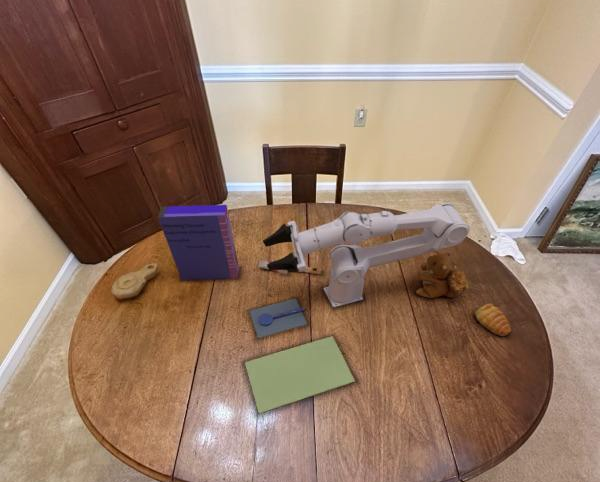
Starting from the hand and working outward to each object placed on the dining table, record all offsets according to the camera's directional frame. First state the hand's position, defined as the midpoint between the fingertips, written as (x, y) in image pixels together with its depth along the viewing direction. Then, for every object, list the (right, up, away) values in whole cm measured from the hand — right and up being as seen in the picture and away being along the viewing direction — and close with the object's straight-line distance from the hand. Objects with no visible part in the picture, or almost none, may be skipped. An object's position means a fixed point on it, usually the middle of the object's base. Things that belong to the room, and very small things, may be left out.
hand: (266, 255), depth 89 cm
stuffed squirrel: (+50, -9, +16) cm, 53 cm away
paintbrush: (+5, -3, +22) cm, 23 cm away
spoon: (+4, -16, +9) cm, 19 cm away
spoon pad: (+2, -17, +9) cm, 19 cm away
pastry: (+61, -18, +8) cm, 64 cm away
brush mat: (+8, -29, -2) cm, 30 cm away
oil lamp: (-41, -8, +18) cm, 46 cm away
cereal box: (-20, -4, +22) cm, 30 cm away
